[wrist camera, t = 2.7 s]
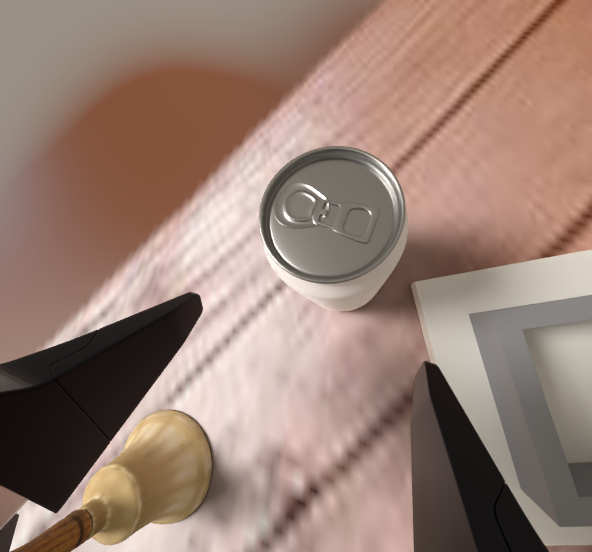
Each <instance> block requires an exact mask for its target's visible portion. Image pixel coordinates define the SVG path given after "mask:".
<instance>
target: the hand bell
mask: <svg viewBox="0 0 592 552" xmlns="http://www.w3.org/2000/svg"><path fill="white" fill-rule="evenodd" d="M211 471H212V461H211V453H210V448H209V445H208V442H207V439H206V437H205V435H204V433H203V431H202V430H201V428H200V427H199V425H197V423H196V422H195V421H194V420H193V419H191V418H190V417H189V416H187V415H186V414H184V413H181V412H179V411H175V410H161V411H157V412H154V413H152V414H150V415H149V416H147V417H146V418H144V419H143V420H142V421H141V422H140V423H139V424H138V425H137V426H136V428H135V429H134V430H133V432H132V433H131V435H130V437H129V438H128V440H127V442H126V445H125V447H124V451H123V452H122V453H121V454H120V455H119V456H118V457H116V458H115V459H114V460H113V461H111V462H110V463H108V464H107V465H106V466H104V467H103V468H101V469H100V470H99V471H98V472H97V473H96V474H95V475H94V476H93V477H92V479H91V480H90V482H89V483H88V485H87V487H86V490H85V493H84V497H83V503H82V507H81V508H80V509H79V510H75V511H73V512H72V513H70V514H69V515H67V516H66V517H65V518H64V519H62V520H60V521H59V522H57V523H56V524H55V525H53V526H52V527H50V528H49V529H47V530H46V531H45V532H43V533H42V534H40V535H39V536H37V537H36V538H34V539H33V540H31V541H30V542H28V543H26V544H25V545H23V546H21V547H19V548H17V549H15V550H13V551H11V552H71V551H72V550H73V549H75V548H77V547H78V546H80V545H81V544H82V543H84V542H85V541H86V540H88V539H90V538H91V537H93V538H94V539H95V540H96V541H98V542H99V543H101V544H104V545H114V544H118V543H120V542H122V541H124V540H126V539H127V538H128V537H130V536H131V535H132V534H134V533H135V532H136V531H138V530H139V529H141V528H142V527H144V526H145V525H147V524H149V523H151V522H152V523H155V524H172V523H175V522H179V521H181V520H183V519H185V518H187V517H188V516H189V515H191V514H192V513H193V512H194V511H195V510H196V509H197V508H198V507H199V505H200V504H201V502H202V501H203V499H204V497H205V495H206V493H207V490H208V487H209V484H210V478H211Z"/></svg>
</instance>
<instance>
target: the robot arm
mask: <svg viewBox="0 0 592 552" xmlns="http://www.w3.org/2000/svg"><path fill="white" fill-rule="evenodd" d="M202 311H203V306H202V302H201V298H200V295H199V294H196V293H193V292H188V293H186V294H183V295H181V296H178V297H176V298H174V299H171V300H169V301H166V302H164V303H161V304H159V305H157V306H154V307H152V308H149V309H147V310H144V311H142V312H139V313H137V314H135V315H132V316H130V317H127V318H125V319H122V320H120V321H117V322H115V323H113V324H110V325H108V326H105V327H103V328H100V329H99V330H95V331H93V332H90V333H88V334H85V335H83V336H80V337H78V338H75V339H73V340H70V341H67V342H65V343H62V344H59V345H56V346H53V347H51V348H48V349H45V350H42V351H39V352H36V353H33V354H30V355H28V356H25V357H22V358H19V359H16V360H13V361H10V362H7V363H3V364H0V552H9V550H10V546H11V543H12V539H13V535H14V532H15V528H16V524H17V521H18V517H19V515H18V514H17V512H18V511H19V510H20V509H21V507H22V506H23V505H24V504H25V503H26V502H27V501H28V500H30V501H32V502H34V503H36V504H38V505H40V506H42V507H44V508H46V509H48V510H50V511H52V512H54V513H57V512H58V511H59V510H60V509H61V508H62V506H63V505H64V504H65V502H66V501H67V500H68V498H69V497H70V496H71V494H72V493H73V492H74V490H75V489H76V488H77V486H78V485H79V484H80V482H81V481H82V480H83V478H84V477H85V476H86V474H87V473H88V472H89V470H90V469H91V468H92V466H93V465H94V463H95V462H96V461H97V459H98V458H99V457H100V455H101V454H102V453H103V451H104V450H105V449H106V447H107V446H108V445H109V443H110V441H111V440H112V439H113V438H114V436H115V435H116V434H117V432H118V431H119V430H120V428H121V427H122V426H123V424H124V423H125V422H126V420H127V419H128V418H129V416H130V415H131V414H132V412H133V411H134V410H135V408H136V407H137V405H138V404H139V403H140V401H141V400H142V399H143V397H144V396H145V395H146V393H147V392H148V391H149V389H150V388H151V387H152V385H153V384H154V383H155V381H156V380H157V379H158V377H159V376H160V375H161V373H162V372H163V371H164V369H165V368H166V367H167V365H168V364H169V362H170V361H171V360H172V358H173V357H174V356H175V354H176V353H177V352H178V350H179V349H180V348H181V346H182V345H183V343H184V342H185V340H186V339H187V337H188V336H189V334H190V332H191V331H192V329H193V327H194V325H195V324H196V322H197V320H198V319H199V317H200V315H201V314H202ZM411 458H412V496H413V533H414V552H549V551H548V549H547V548H546V546H545V545H544V543H543V542H542V540H541V539H540V537H539V536H538V534H537V532H536V531H535V529H534V528H533V526H532V525H531V523H530V521H529V520H528V518H527V516H526V515H525V513H524V512H523V510H522V508H521V507H520V505H519V503H518V502H517V500H516V498H515V497H514V495H513V493H512V491H511V490H510V488H509V486H508V485H507V484H506V483H505V480H504V478H503V476H502V474H501V473H500V471H499V469H498V468H497V466H496V464H495V462H494V461H493V459H492V457H491V456H490V454H489V452H488V450H487V449H486V447H485V445H484V444H483V442H482V440H481V438H480V437H479V435H478V433H477V432H476V430H475V428H474V426H473V425H472V423H471V421H470V420H469V418H468V416H467V414H466V413H465V411H464V409H463V408H462V406H461V404H460V402H459V401H458V399H457V397H456V396H455V394H454V392H453V390H452V389H451V387H450V385H449V384H448V382H447V380H446V378H445V377H444V375H443V373H442V372H441V370H440V368H439V366H438V365H436V364H434V363H431V362H427V361H424V362H423V363H422V365H421V367H420V369H419V370H418V372H417V374H416V377H415V383H414V394H413V404H412V415H411Z"/></svg>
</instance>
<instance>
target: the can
mask: <svg viewBox="0 0 592 552" xmlns="http://www.w3.org/2000/svg"><path fill="white" fill-rule="evenodd" d="M259 229H260V234H261V238H262V241H263V246H264V250H265V253H266V256H267V259H268V261H269V263H270V265H271V266H272V268H273V269H274V271H275V272H276V273H277V275H278V276H279V277H280V278H281V279H282V280H283V281H284V282H285V283H286V284H287V285H289V286H290V287H291V288H293V289H294V290H296V291H297V292H299V293H300V294H302V295H303V296H305V297H306V298H308V299H310V300H311V301H313V302H315V303H316V304H318V305H320V306H322V307H324V308H326V309H329V310H333V311H351V310H354V309H357V308H360V307H362V306H363V305H365V304H366V303H368V302H369V301H370V300H371V299H372V298H373V297H374V296H375V295H376V293H377V292H378V291H379V289H380V288H381V287H382V285H383V284H384V283H385V281H386V280H387V279H388V277H389V276H390V274H391V273H392V271H393V270H394V268H395V267H396V265H397V264H398V262H399V260H400V258H401V256H402V254H403V251H404V248H405V245H406V241H407V236H408V215H407V210H406V207H405V199H404V194H403V191H402V188H401V186H400V183H399V181H398V179H397V178H396V176H395V175H394V173H393V172H392V171H391V170H390V168H389V167H388V166H387V165H386V164H384V163H383V162H382V161H381V160H380V159H378V158H377V157H375V156H373V155H372V154H370V153H367V152H365V151H362V150H359V149H356V148H351V147H344V146H330V147H323V148H318V149H315V150H311V151H309V152H306V153H304V154H302V155H300V156H298V157H296V158H295V159H293V160H292V161H290V162H289V163H287V164H286V165H285V166H284V167H283V168H282V169H281V170H280V171H279V172H278V173H277V174H276V175H275V176H274V178H273V179H272V180H271V182H270V183H269V185H268V187H267V189H266V191H265V193H264V195H263V198H262V201H261V205H260V210H259Z"/></svg>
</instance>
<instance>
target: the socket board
mask: <svg viewBox="0 0 592 552" xmlns="http://www.w3.org/2000/svg"><path fill="white" fill-rule="evenodd" d="M411 289H412V293H413V297H414V301H415V305H416V309H417V312H418V316H419V320H420V324H421V328H422V332H423V336H424V340H425V344H426V348H427V351H428V355H429V359H430V362H431V363H434V364H436V365H438V366H439V368H440V370H441V372H442V373H443V375H444V377H445V378H446V380H447V382H448V384H449V385H450V387H451V389H452V390H453V392H454V394H455V396H456V397H457V399H458V401H459V402H460V404H461V406H462V408H463V409H464V411H465V413H466V414H467V416H468V418H469V420H470V421H471V423H472V425H473V426H474V428H475V430H476V432H477V433H478V435H479V437H480V438H481V440H482V442H483V444H484V445H485V447H486V449H487V450H488V452H489V454H490V456H491V457H492V459H493V461H494V462H495V464H496V466H497V468H498V469H499V471H500V473H501V474H502V476H503V478H504V480H505V483H506V484H507V485H508V486H509V488H510V490H511V491H512V493H513V495H514V497H515V498H516V500H517V502H518V503H519V505H520V507H521V508H522V510H523V512H524V513H525V515H526V516H527V518H528V520H529V521H530V523H531V525H532V526H533V528H534V529H535V531H536V532H537V534H538V536H539V537H540V539H541V540H542V542H543V543H544V545H545V546H564V545H592V250H587V251H581V252H576V253H570V254H565V255H559V256H553V257H548V258H542V259H537V260H531V261H526V262H520V263H515V264H509V265H504V266H498V267H493V268H487V269H482V270H476V271H471V272H465V273H460V274H454V275H449V276H443V277H438V278H432V279H427V280H421V281H416V282H414V283H412V284H411Z"/></svg>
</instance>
